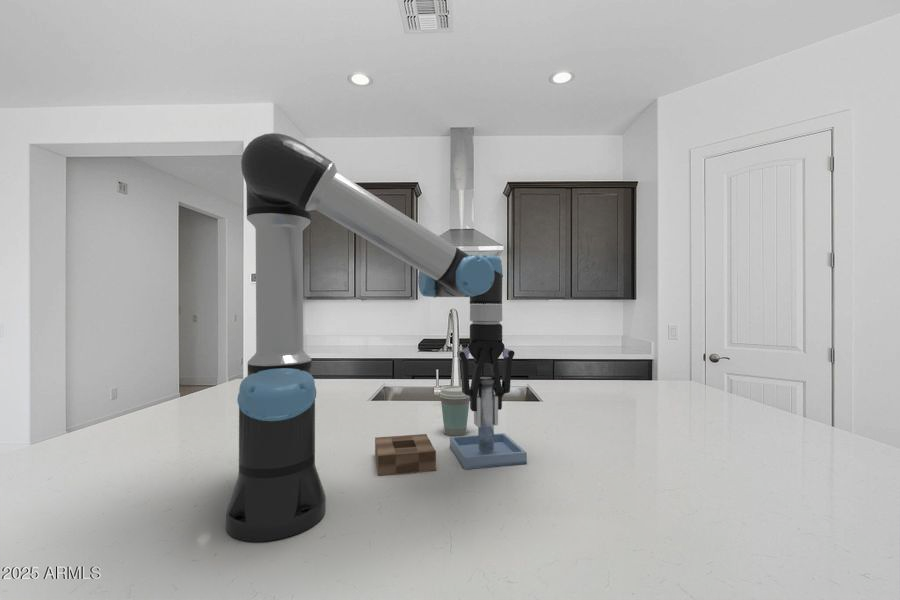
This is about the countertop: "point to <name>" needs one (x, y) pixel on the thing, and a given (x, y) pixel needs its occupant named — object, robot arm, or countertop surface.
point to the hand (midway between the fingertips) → (486, 424)
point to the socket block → (404, 454)
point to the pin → (486, 414)
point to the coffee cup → (454, 410)
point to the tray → (487, 452)
